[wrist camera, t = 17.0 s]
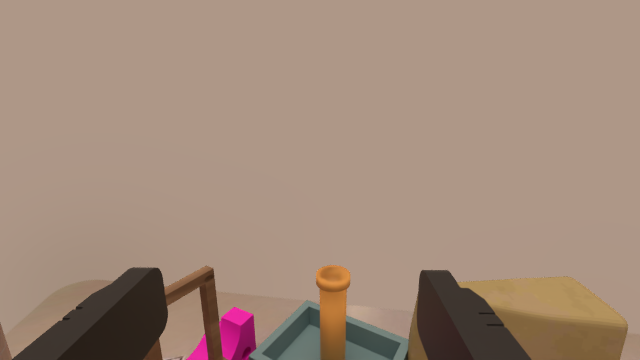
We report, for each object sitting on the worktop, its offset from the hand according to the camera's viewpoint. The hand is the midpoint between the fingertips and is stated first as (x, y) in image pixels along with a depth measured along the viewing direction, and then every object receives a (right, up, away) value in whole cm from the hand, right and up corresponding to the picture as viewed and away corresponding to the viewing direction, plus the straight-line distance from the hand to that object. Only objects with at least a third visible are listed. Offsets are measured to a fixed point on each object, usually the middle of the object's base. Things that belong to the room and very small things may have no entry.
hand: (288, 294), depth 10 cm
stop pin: (+3, -23, +34) cm, 41 cm away
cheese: (+24, -25, +32) cm, 47 cm away
